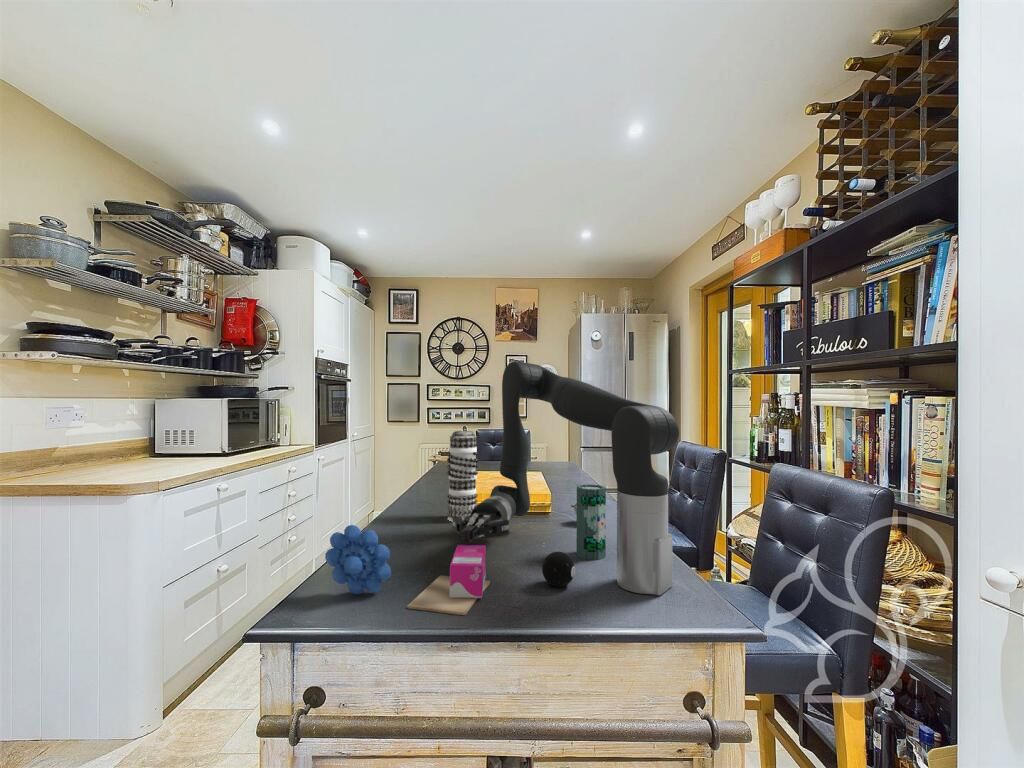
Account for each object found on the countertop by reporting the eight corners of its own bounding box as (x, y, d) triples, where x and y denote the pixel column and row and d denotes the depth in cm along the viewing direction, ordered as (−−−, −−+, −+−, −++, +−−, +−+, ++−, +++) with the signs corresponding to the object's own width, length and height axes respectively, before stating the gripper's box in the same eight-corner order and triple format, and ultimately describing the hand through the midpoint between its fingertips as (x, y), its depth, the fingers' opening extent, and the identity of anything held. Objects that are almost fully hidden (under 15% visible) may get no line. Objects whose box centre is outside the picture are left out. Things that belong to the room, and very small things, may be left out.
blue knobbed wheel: (314, 604, 80) (315, 531, 80) (330, 588, 87) (331, 521, 87) (383, 605, 80) (385, 532, 80) (394, 589, 87) (395, 521, 87)
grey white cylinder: (466, 513, 144) (467, 429, 144) (484, 519, 137) (485, 431, 137) (439, 518, 138) (441, 431, 139) (458, 525, 131) (459, 432, 132)
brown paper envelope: (440, 577, 92) (440, 575, 92) (490, 582, 90) (490, 580, 90) (406, 608, 79) (407, 605, 79) (464, 615, 76) (464, 612, 76)
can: (592, 561, 102) (592, 490, 103) (571, 554, 107) (571, 486, 107) (610, 555, 106) (610, 487, 106) (589, 549, 111) (589, 483, 111)
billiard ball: (549, 577, 93) (550, 545, 93) (579, 582, 90) (579, 550, 91) (536, 587, 88) (537, 554, 88) (567, 594, 85) (567, 559, 85)
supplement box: (486, 574, 93) (482, 599, 82) (456, 573, 93) (447, 598, 82) (487, 544, 93) (482, 565, 82) (456, 543, 93) (447, 564, 82)
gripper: (464, 496, 111) (434, 514, 94) (520, 500, 108) (499, 518, 91) (464, 529, 111) (434, 553, 94) (520, 534, 107) (499, 559, 91)
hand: (466, 536), depth 92 cm, fingers closed
